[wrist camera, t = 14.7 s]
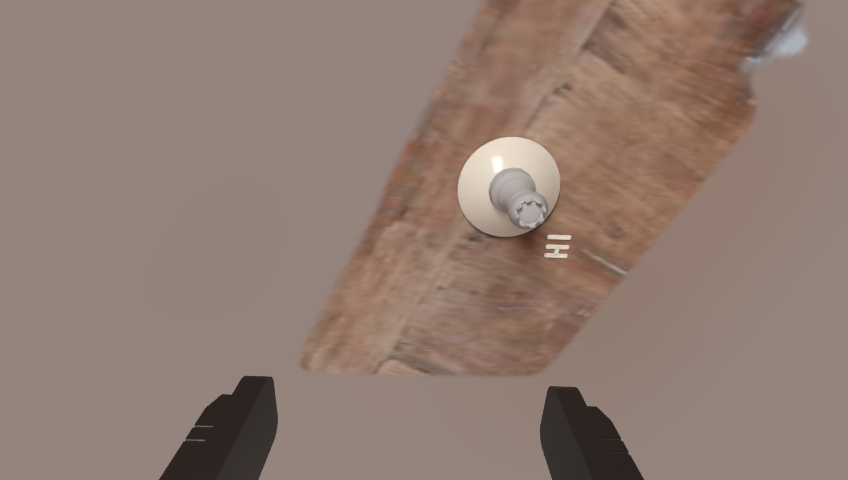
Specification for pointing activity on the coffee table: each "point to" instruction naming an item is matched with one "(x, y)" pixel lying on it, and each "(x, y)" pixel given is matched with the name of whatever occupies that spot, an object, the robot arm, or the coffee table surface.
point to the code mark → (557, 246)
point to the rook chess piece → (518, 198)
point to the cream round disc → (489, 164)
